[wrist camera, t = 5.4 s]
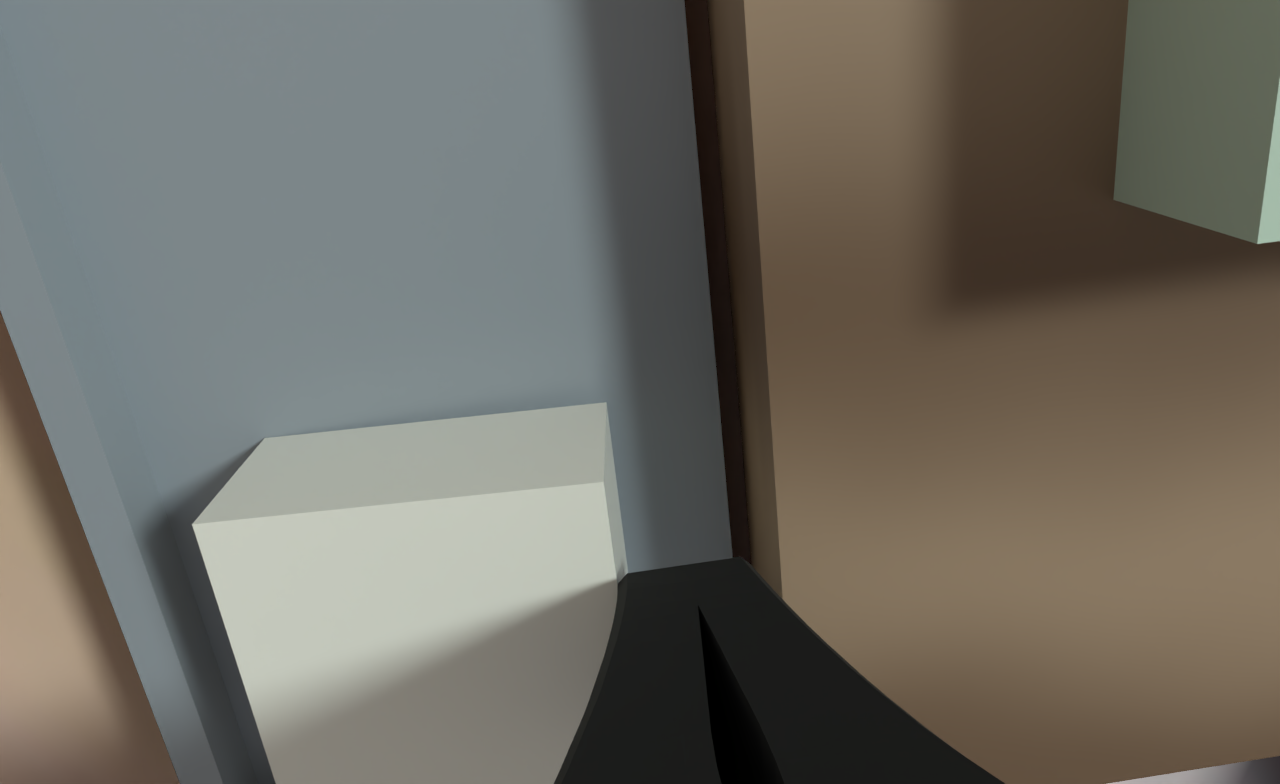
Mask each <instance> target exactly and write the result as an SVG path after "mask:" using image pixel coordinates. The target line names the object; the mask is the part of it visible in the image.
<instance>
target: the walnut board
mask: <svg viewBox="0 0 1280 784" xmlns="http://www.w3.org/2000/svg"><path fill="white" fill-rule="evenodd" d="M1128 1H1129V0H707V3H708V16H709V29H710V42H711V55H712V67H713V80H714V93H715V106H716V118H717V131H718V144H719V157H720V169H721V182H722V195H723V208H724V220H725V233H726V246H727V259H728V272H729V284H730V297H731V310H732V323H733V335H734V348H735V361H736V374H737V386H738V399H739V412H740V425H741V438H742V450H743V463H744V476H745V489H746V501H747V514H748V527H749V540H750V552H751V565H752V566H753V567H754V568H755V570H756V571H757V572H758V573H759V574H760V575H761V576H762V578H763V579H764V580H765V581H766V582H767V583H768V584H769V585H770V586H771V588H772V589H773V590H774V591H775V592H776V593H777V594H778V595H779V596H780V597H781V598H782V599H783V600H784V601H785V602H786V603H787V604H788V606H789V607H790V608H791V609H792V610H793V611H794V612H795V613H796V614H797V615H798V616H799V617H800V618H801V619H802V620H803V621H804V622H805V623H806V624H807V625H808V626H809V627H810V628H811V629H812V630H814V631H815V632H816V633H817V634H818V635H819V636H820V637H821V638H822V639H823V640H824V641H825V642H826V643H827V644H828V645H829V646H831V647H832V648H833V649H834V650H835V651H836V652H837V653H838V654H839V655H840V656H842V657H843V658H844V659H845V660H846V661H847V662H848V663H849V664H850V665H851V666H853V667H854V668H855V669H856V670H857V671H858V672H859V673H860V674H861V675H862V676H864V677H865V678H866V679H867V680H868V681H869V682H871V683H872V684H873V685H874V686H875V687H877V688H878V689H879V690H880V691H881V692H882V693H884V694H885V695H886V696H887V697H888V698H890V699H891V700H892V701H893V702H895V703H896V704H897V705H898V706H900V707H901V708H902V709H903V710H905V711H906V712H907V713H908V714H910V715H911V716H912V717H913V718H915V719H916V720H917V721H918V722H920V723H921V724H922V725H923V726H925V727H926V728H927V729H929V730H930V731H931V732H933V733H934V734H935V735H937V736H938V737H939V738H941V739H942V740H943V741H944V742H946V743H947V744H948V745H950V746H951V747H953V748H954V749H955V750H957V751H958V752H960V753H961V754H962V755H964V756H965V757H966V758H968V759H969V760H971V761H972V762H974V763H975V764H977V765H978V766H980V767H981V768H983V769H984V770H986V771H987V772H989V773H990V774H992V775H993V776H995V777H996V778H998V779H999V780H1001V781H1002V782H1004V783H1005V784H1106V783H1112V782H1119V781H1125V780H1131V779H1137V778H1144V777H1150V776H1156V775H1162V774H1169V773H1175V772H1181V771H1187V770H1194V769H1200V768H1206V767H1212V766H1219V765H1225V764H1231V763H1237V762H1244V761H1250V760H1256V759H1262V758H1269V757H1275V756H1280V241H1276V242H1268V243H1261V244H1256V243H1252V242H1249V241H1246V240H1243V239H1239V238H1236V237H1233V236H1230V235H1226V234H1223V233H1220V232H1217V231H1213V230H1210V229H1207V228H1204V227H1200V226H1197V225H1194V224H1191V223H1187V222H1184V221H1181V220H1177V219H1174V218H1171V217H1168V216H1164V215H1161V214H1158V213H1155V212H1151V211H1148V210H1145V209H1142V208H1138V207H1135V206H1132V205H1129V204H1125V203H1122V202H1119V201H1116V200H1113V199H1114V186H1115V173H1116V159H1117V146H1118V133H1119V120H1120V107H1121V93H1122V80H1123V67H1124V54H1125V41H1126V27H1127V14H1128Z"/></svg>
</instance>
